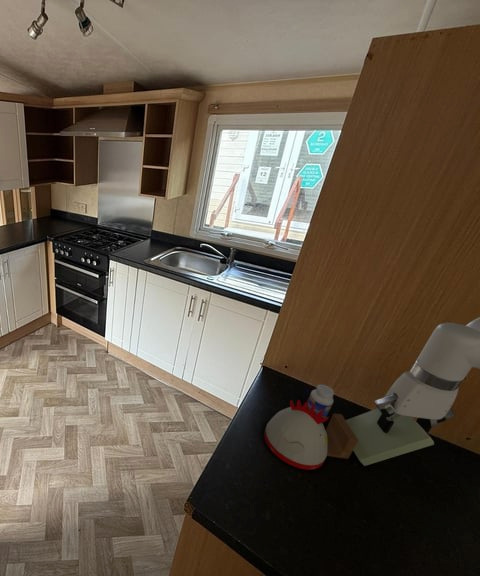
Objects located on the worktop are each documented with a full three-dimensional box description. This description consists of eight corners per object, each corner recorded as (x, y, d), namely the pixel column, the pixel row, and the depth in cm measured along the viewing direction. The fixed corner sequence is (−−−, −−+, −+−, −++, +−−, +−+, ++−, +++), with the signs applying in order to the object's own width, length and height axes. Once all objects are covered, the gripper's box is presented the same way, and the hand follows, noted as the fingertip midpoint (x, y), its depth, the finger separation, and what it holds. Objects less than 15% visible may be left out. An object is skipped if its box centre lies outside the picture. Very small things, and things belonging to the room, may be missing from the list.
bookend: (332, 432, 86) (341, 414, 83) (348, 459, 79) (358, 440, 76) (312, 429, 87) (321, 411, 84) (326, 455, 80) (336, 437, 77)
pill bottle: (299, 411, 93) (309, 386, 88) (310, 404, 95) (320, 380, 91) (318, 424, 88) (330, 399, 84) (329, 417, 91) (341, 392, 86)
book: (402, 406, 80) (397, 400, 80) (435, 444, 71) (430, 437, 70) (341, 429, 87) (336, 423, 86) (364, 466, 77) (359, 460, 77)
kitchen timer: (312, 481, 74) (333, 437, 67) (254, 441, 83) (268, 400, 77) (332, 447, 82) (353, 406, 75) (277, 414, 91) (292, 375, 85)
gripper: (465, 369, 71) (428, 423, 79) (380, 360, 74) (352, 413, 82) (497, 393, 65) (452, 450, 73) (402, 382, 67) (369, 438, 75)
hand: (399, 430), depth 77 cm, fingers open, 7 cm apart
